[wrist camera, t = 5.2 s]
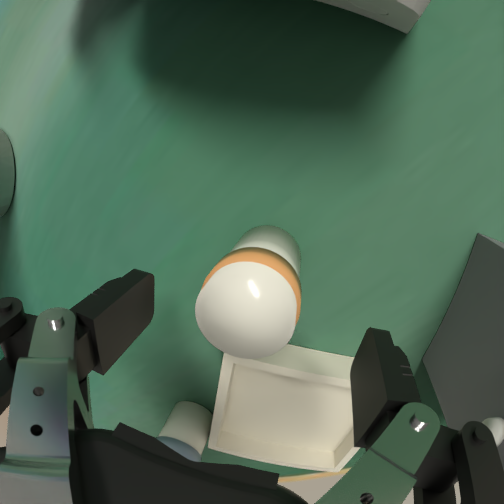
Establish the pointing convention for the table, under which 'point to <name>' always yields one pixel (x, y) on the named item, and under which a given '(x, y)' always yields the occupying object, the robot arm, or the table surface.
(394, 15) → the white slotted rounded block
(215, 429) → the parts tray
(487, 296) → the control box
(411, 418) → the robot arm
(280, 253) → the white orange rounded cylinder
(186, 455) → the blue-band fuse
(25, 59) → the table surface
